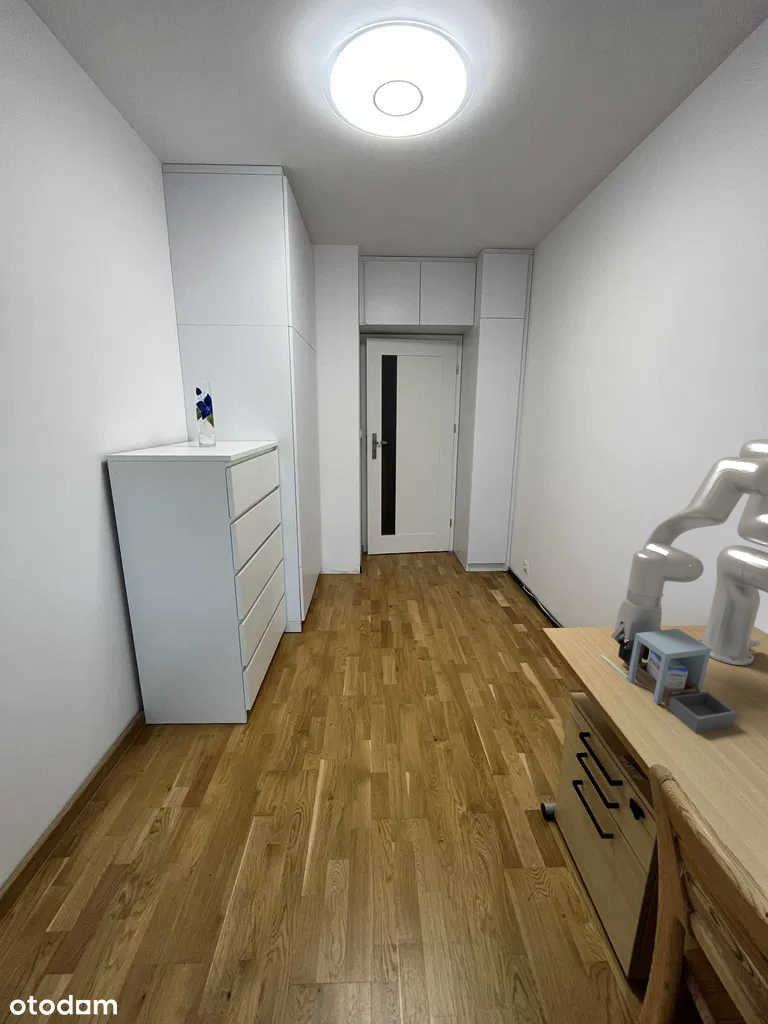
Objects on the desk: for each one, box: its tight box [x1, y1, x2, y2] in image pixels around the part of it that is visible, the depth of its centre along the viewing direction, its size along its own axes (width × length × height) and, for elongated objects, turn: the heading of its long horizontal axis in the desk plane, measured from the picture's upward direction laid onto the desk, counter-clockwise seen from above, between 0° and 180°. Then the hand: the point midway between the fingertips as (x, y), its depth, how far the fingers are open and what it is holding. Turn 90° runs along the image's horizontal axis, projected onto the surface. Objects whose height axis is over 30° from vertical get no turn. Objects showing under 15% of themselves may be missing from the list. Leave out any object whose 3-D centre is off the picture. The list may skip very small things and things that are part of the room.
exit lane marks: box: [599, 654, 649, 679], centre depth 110 cm, size 12×10×1 cm
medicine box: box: [646, 649, 688, 692], centre depth 100 cm, size 8×4×9 cm, turn 178°
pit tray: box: [667, 690, 738, 734], centre depth 91 cm, size 10×7×4 cm
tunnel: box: [627, 628, 711, 705], centre depth 99 cm, size 12×9×13 cm
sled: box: [625, 639, 700, 705], centre depth 102 cm, size 8×17×8 cm, turn 11°
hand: (632, 657), depth 110 cm, fingers open, 5 cm apart
